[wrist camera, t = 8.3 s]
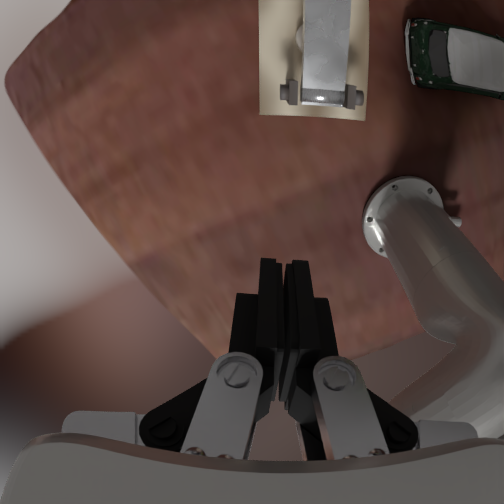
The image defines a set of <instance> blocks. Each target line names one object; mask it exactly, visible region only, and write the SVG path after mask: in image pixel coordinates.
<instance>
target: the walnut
mask: <svg viewBox="0 0 504 504" xmlns="http://www.w3.org/2000/svg"><path fill="white" fill-rule="evenodd" d="M302 38H303V25H301V26H300V28H299V29H298V30H297V32H296V35H295V42H296V45H297V47H298V49H299V50H300V51H301V52H302Z"/></svg>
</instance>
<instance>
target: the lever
mask: <svg viewBox="0 0 504 504" xmlns="http://www.w3.org/2000/svg"><path fill="white" fill-rule="evenodd" d="M350 17H351V0H303V38H302V68H301V86H300V101H301V104H302V105H317V106H331V107H343V104H344V99H345V82H346V71H347V60H348V47H349V33H350Z"/></svg>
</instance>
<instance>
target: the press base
mask: <svg viewBox="0 0 504 504" xmlns="http://www.w3.org/2000/svg"><path fill="white" fill-rule="evenodd" d="M301 25H303V0H259V76H260V115H294V116H315V117H330V118H342V119H353V120H363V121H365V114H366V100H367V84H368V60H369V0H351V17H350V33H349V47H348V60H347V71H346V82H345V99H344V104H343V107H331V106H317V105H302V104H301V101H300V86H301V68H302V52H301V51H300V50H299V49H298V47H297V45H296V42H295V35H296V32H297V30H298V29H299V28H300V26H301Z"/></svg>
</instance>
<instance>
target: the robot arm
mask: <svg viewBox="0 0 504 504" xmlns="http://www.w3.org/2000/svg"><path fill="white" fill-rule="evenodd" d="M393 185H394V186H393ZM392 186H393V187H392ZM368 217H369V218H368ZM461 222H462V221H461V218H460V217H450V216H449V215H448V214H447V213H446V212H445V211H444V210H443V203H442V199H441V197H440V195H439V193H438V191H437V190H436V189H435V188H434V187H433V186H432V185H431V184H430V183H429V182H427V181H426V180H424V179H422V178H419V177H416V176H401V177H397V178H394V179H392V180H390V181H388V182H386V183H384V184H383V185H382V186H381V187H379V188H378V189H377V190H376V191H375V192H374V193H373V194H372V196H371V197H370V199H369V201H368V202H367V204H366V207H365V209H364V213H363V217H362V228H363V234H364V236H365V238H366V240H367V242H368V244H369V246H370V247H371V248H372V249H373V250H374V251H375V252H376V253H378V254H379V255H382V256H384V257H387V258H388V259H389V260H390V262H391V264H392V266H393V268H394V270H395V272H396V274H397V276H398V278H399V280H400V282H401V284H402V286H403V288H404V290H405V292H406V294H407V297H408V299H409V301H410V303H411V305H412V307H413V309H414V312H415V314H416V316H417V318H418V320H419V322H420V324H421V325H422V327H423V328H424V329H425V330H426V331H427V332H428V333H429V334H430V335H432V336H433V337H436V338H437V339H439V340H442V341H446V342H449V343H453V344H456V345H455V347H454V348H453V349H452V351H450V352H449V353H448V354H447V355H446V356H445V357H444V358H443V359H442V360H441V361H440V362H439V363H437V364H436V365H435V366H434V367H433V368H431V369H430V370H428V371H427V372H426V373H425V374H423V375H422V376H421V377H419V378H418V379H417V380H415V381H414V382H413V383H411V384H410V385H409V386H407V387H406V388H405V389H403V390H402V391H401V392H400V393H398V394H397V395H396V396H395V397H394V398H393V399H391V401H390V402H389V403H387V402H386V401H384V400H383V399H381V398H380V397H378V396H377V395H376V394H374V393H373V392H371V391H370V390H369V389H367V388H366V385H365V383H364V380H363V377H362V375H361V372H360V370H359V369H358V367H357V365H355V364H354V363H353V362H352V361H351V360H349V359H347V358H345V357H341V356H339V355H338V349H337V343H336V338H335V332H334V327H333V321H332V316H331V311H330V305H329V301H328V299H327V298H315V297H314V294H313V288H312V281H311V275H310V269H309V263H308V261H303V260H292V264H286V269H285V277H284V284H283V277H282V263H276V259H271V258H261V262H260V277H259V291H258V294H244V293H237V295H236V302H235V309H234V316H233V324H232V331H231V338H230V346H229V353H227V354H224V355H222V356H220V357H219V358H218V359H217V360H216V361H215V362H214V364H213V365H212V367H211V370H210V373H209V376H208V378H206V379H204V380H203V381H201V382H200V383H198V384H196V385H195V386H193V387H191V388H190V389H188V390H186V391H185V392H183V393H181V394H179V395H178V396H176V397H174V398H173V399H171V400H169V401H167V402H166V403H164V404H162V405H160V406H159V407H157V408H155V409H153V410H151V411H150V412H148V413H147V414H146V415H136V413H135V412H97V411H75V412H73V413H71V414H69V415H68V416H67V417H66V419H65V420H64V423H63V426H62V433H53V434H46V435H42V436H38V437H36V438H33V439H32V440H30V441H29V442H28V443H27V444H26V445H25V446H24V448H23V449H22V450H21V452H20V453H19V455H18V457H17V459H16V461H15V463H14V465H13V467H12V469H11V472H10V474H9V477H8V479H7V483H6V485H5V488H4V491H3V494H2V497H1V501H0V504H504V282H503V280H502V279H501V278H500V277H499V276H498V274H497V273H496V272H495V271H494V270H493V268H492V267H491V266H490V265H489V263H488V262H487V261H486V260H485V258H484V257H483V256H482V255H481V254H480V253H479V251H478V250H477V249H476V248H475V247H474V245H473V244H472V243H471V242H470V241H469V240H468V239H467V237H466V236H465V235H464V234H463V233H462V231H460V229H459V228H458V227H460V226H461ZM278 380H279V401H284V402H285V410H288V414H289V415H290V416H292V417H293V418H294V419H295V420H296V428H297V433H298V438H299V443H300V448H301V453H302V458H303V461H258V460H248V457H249V453H250V449H251V445H252V441H253V436H254V432H255V428H256V423H257V421H259V420H260V419H261V418H262V417H264V416H265V415H267V414H268V413H269V408H270V402H271V401H274V400H275V394H276V390H277V385H278Z"/></svg>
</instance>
